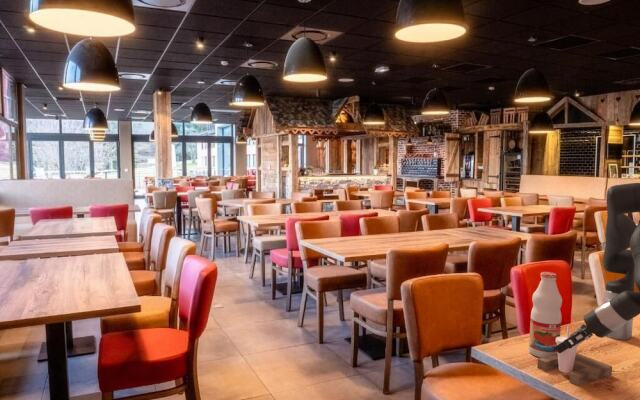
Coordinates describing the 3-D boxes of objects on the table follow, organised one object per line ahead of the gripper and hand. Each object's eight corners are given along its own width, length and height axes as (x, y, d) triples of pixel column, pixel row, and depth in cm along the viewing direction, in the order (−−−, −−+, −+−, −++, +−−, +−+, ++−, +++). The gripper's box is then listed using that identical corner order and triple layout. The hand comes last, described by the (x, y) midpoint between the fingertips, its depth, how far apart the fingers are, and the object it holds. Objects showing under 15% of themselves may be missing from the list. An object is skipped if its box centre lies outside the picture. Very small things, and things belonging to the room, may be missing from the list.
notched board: (570, 359, 163) (570, 350, 163) (611, 375, 151) (612, 366, 150) (537, 367, 156) (537, 358, 155) (578, 386, 143) (578, 376, 143)
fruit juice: (552, 349, 172) (557, 270, 169) (563, 360, 162) (569, 277, 160) (524, 347, 172) (529, 269, 170) (534, 358, 163) (539, 276, 160)
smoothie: (556, 373, 149) (559, 328, 147) (551, 365, 155) (554, 321, 154) (579, 376, 147) (582, 330, 146) (574, 367, 153) (576, 323, 152)
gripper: (602, 302, 150) (559, 331, 158) (589, 313, 139) (544, 342, 148) (621, 323, 146) (576, 351, 155) (609, 336, 136) (562, 365, 145)
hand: (560, 347), depth 152 cm, fingers closed on smoothie, 6 cm apart
